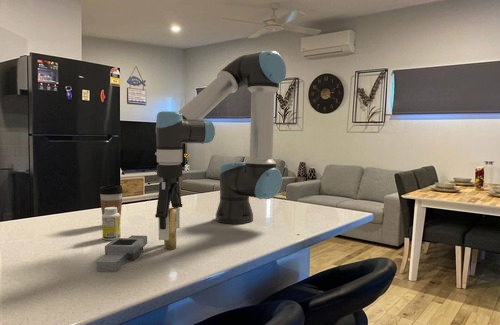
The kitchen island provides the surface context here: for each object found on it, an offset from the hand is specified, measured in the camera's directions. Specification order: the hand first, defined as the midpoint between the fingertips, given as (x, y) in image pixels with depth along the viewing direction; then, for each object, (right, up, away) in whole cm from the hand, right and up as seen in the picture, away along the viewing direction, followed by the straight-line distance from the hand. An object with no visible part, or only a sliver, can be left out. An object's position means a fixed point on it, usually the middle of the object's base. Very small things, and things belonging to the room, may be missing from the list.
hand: (169, 233), depth 116 cm
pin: (0, -5, 0) cm, 5 cm away
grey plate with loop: (-11, -5, -7) cm, 14 cm away
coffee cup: (-28, -2, +28) cm, 39 cm away
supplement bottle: (-21, -4, +11) cm, 24 cm away
